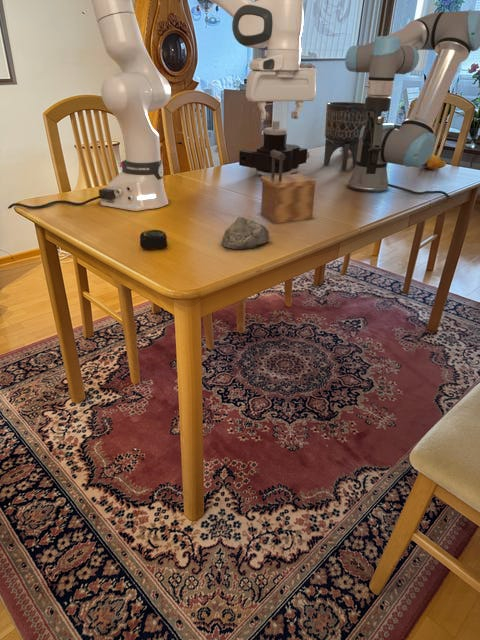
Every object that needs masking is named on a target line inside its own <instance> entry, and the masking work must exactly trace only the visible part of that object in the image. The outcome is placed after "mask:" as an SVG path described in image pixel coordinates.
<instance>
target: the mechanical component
mask: <svg viewBox="0 0 480 640" xmlns="http://www.w3.org/2000/svg"><path fill="white" fill-rule="evenodd" d="M287 138H288V129H287V128H286V127H280V121H279V120H272V126H271V127H265V128H264V129H263V145H262V146H258V147H257V148H256V151H250V150H245V149H241V150H239V153H238V154H239V155H238V157H239V159H238V166H240V167H245V168H250V169H255V173H256V174H257V175H261V177H263V176H271V174H272V156H271V155H270V152H271V151H272V150H276V151H279V152H281V153H284V154H285V159H284V160H283V167H282V175H288V174H293V173H294V174H298V171H299V167H300V165H303V164H304V165H305V164H307V160H309V158H310V156H311V154H310V152H309V151H308V148H304V147H301V146H299V145H297V144H290V143H287ZM279 166H280V160H279V159H276V158H275V172H274V176H275V175H279Z"/></svg>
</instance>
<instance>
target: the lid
mask: <svg viewBox="0 0 480 640" xmlns="http://www.w3.org/2000/svg"><path fill="white" fill-rule="evenodd" d="M270 155H271V156H272V174H271V176H263V177H262V176H260V178H259V181H260V182H261V183H262V182H264V183H265V184H267V185H269V186H271V187H273V188H281V187H292V186H303V185H314V184H315V185H316V183H317V180H316V179H314V178H312V177H309V176H307V175H305V174H303V173H291V174H288V175H282V167H283V160H284V159H285V154H284V153H281V152H279V151H276V150H272V151H271V152H270ZM275 158H276V159H279V160H280V166H279V175H275V176H274V172H275Z"/></svg>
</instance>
